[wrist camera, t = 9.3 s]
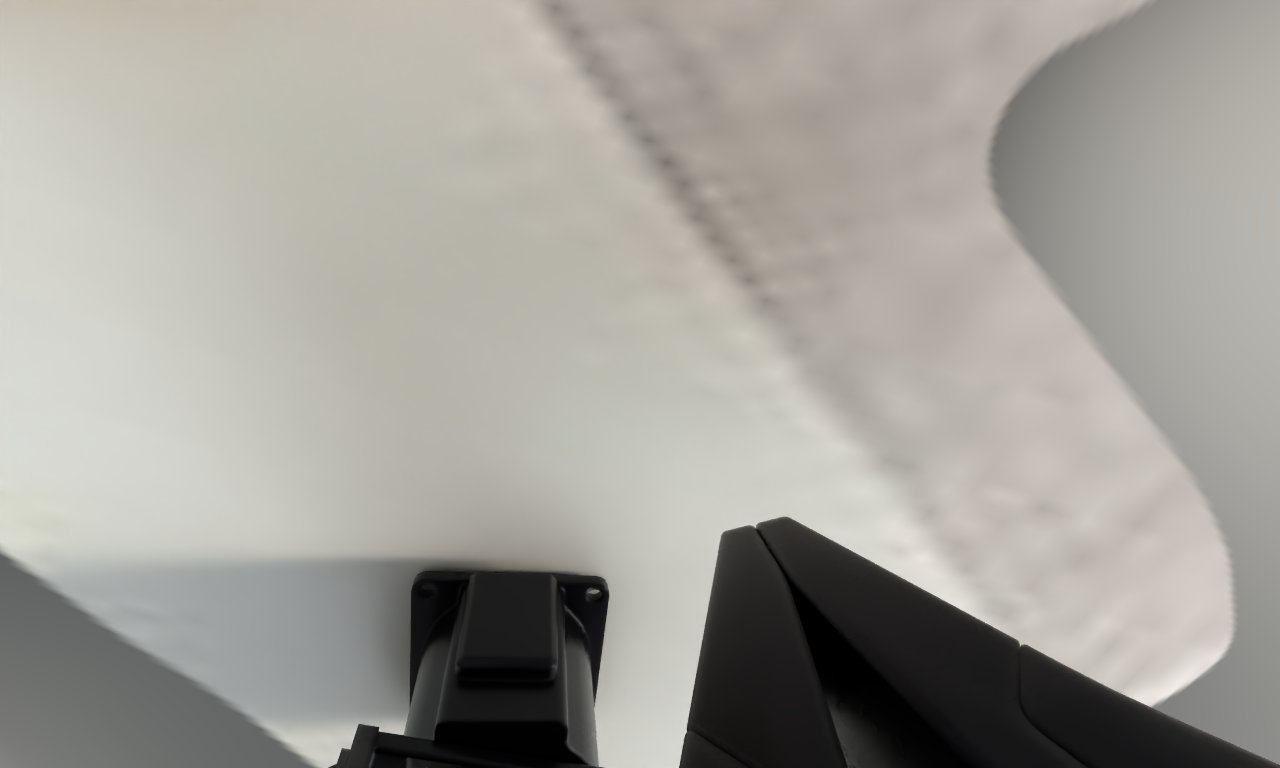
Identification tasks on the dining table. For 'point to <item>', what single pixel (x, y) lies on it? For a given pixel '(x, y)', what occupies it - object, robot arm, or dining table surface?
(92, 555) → the dining table surface
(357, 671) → the dining table surface
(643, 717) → the dining table surface
